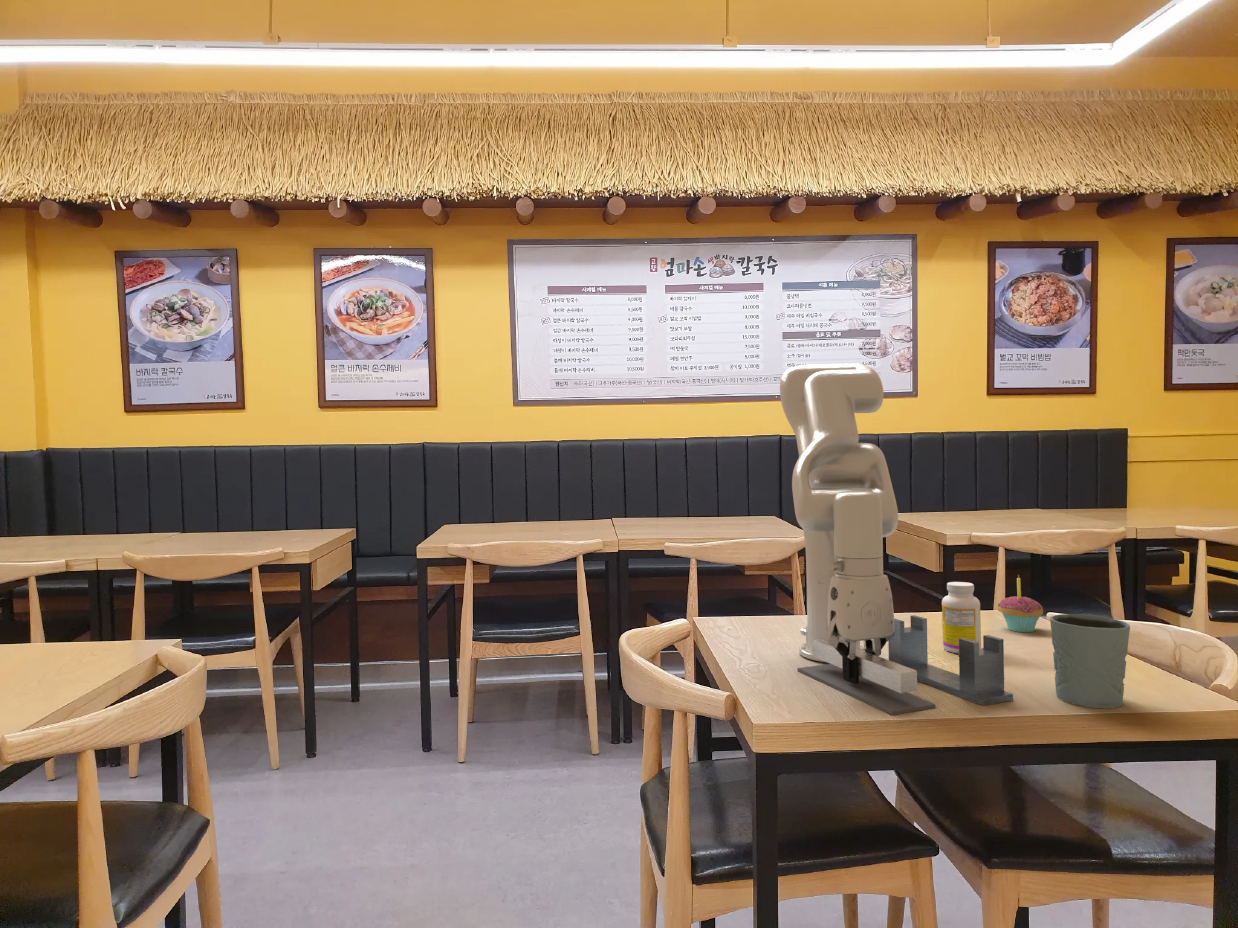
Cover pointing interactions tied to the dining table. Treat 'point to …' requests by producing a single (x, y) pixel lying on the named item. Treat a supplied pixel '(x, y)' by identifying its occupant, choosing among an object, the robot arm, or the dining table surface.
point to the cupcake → (1020, 611)
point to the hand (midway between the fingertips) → (860, 679)
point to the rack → (976, 665)
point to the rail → (871, 667)
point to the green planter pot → (1089, 659)
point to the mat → (867, 690)
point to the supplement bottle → (960, 616)
